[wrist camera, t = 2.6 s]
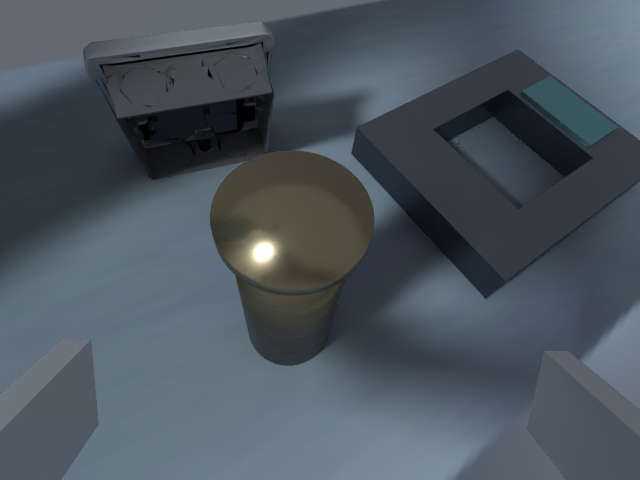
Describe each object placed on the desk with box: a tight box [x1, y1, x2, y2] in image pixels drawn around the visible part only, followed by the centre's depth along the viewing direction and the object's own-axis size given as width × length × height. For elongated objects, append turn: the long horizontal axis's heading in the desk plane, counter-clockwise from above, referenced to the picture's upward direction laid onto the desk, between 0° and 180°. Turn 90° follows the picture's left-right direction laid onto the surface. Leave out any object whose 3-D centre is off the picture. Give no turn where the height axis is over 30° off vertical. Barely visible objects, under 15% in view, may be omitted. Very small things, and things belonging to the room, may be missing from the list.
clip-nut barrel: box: [210, 150, 374, 366], centre depth 18 cm, size 5×5×11 cm
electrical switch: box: [83, 21, 275, 180], centre depth 24 cm, size 9×5×9 cm, turn 108°
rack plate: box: [352, 50, 640, 298], centre depth 29 cm, size 16×13×3 cm
